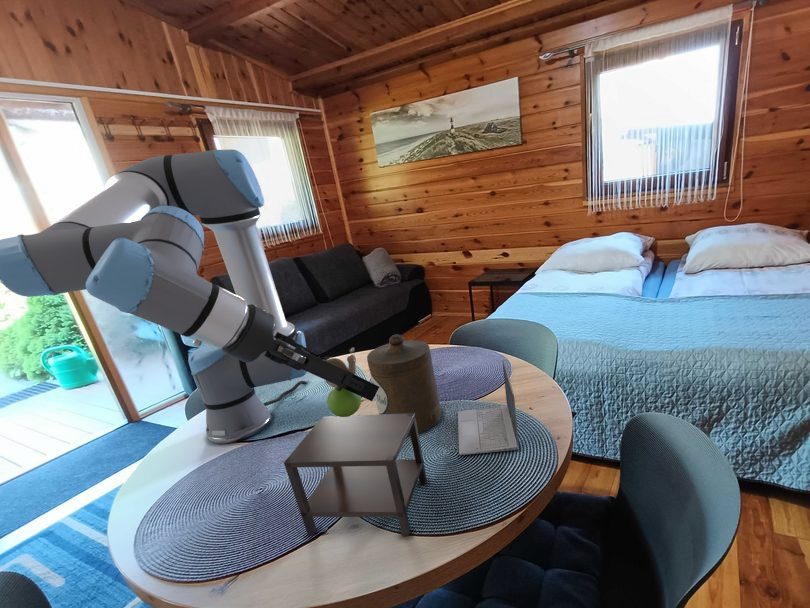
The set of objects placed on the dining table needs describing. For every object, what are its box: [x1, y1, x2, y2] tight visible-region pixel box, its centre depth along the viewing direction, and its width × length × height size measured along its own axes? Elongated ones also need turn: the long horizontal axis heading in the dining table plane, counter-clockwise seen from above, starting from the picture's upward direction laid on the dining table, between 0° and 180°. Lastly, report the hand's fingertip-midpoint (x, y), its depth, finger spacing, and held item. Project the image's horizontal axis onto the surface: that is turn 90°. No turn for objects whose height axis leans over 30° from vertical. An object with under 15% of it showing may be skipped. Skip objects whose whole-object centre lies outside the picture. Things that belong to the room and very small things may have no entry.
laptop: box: [457, 359, 520, 456], centre depth 95 cm, size 18×12×13 cm
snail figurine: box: [325, 347, 362, 417], centre depth 70 cm, size 5×6×12 cm
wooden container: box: [366, 333, 442, 436], centre depth 102 cm, size 15×15×22 cm
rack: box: [283, 413, 428, 537], centre depth 76 cm, size 14×18×15 cm
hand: (365, 389), depth 74 cm, fingers closed on snail figurine, 5 cm apart
